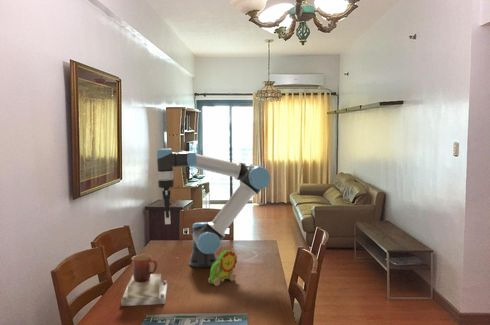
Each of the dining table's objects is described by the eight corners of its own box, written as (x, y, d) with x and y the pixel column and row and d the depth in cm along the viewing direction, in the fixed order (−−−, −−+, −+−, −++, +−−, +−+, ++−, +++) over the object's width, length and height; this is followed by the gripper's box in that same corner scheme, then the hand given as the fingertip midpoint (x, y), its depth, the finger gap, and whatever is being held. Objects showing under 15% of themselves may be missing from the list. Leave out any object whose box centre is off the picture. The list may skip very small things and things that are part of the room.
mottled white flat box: (167, 288, 197) (166, 272, 196) (164, 303, 179) (164, 286, 178) (127, 289, 194) (127, 274, 194) (121, 306, 177) (121, 288, 176)
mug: (127, 282, 184) (127, 259, 183) (139, 275, 192) (138, 253, 191) (151, 285, 180) (151, 262, 179) (162, 278, 188) (161, 256, 187)
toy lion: (215, 287, 198) (214, 255, 196) (207, 284, 202) (207, 253, 200) (239, 278, 209) (239, 249, 208) (231, 276, 213) (231, 246, 211)
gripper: (158, 177, 222) (160, 216, 224) (157, 182, 198) (159, 227, 200) (172, 176, 224) (174, 215, 226) (173, 182, 199) (175, 225, 201)
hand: (167, 221), depth 213 cm, fingers open, 13 cm apart
